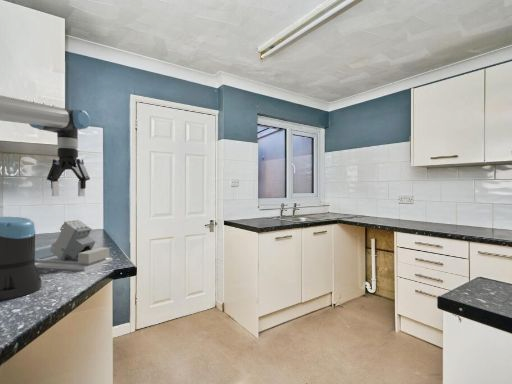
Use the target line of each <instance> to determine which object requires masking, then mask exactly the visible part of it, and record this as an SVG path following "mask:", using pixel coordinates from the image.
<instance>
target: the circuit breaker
mask: <svg viewBox="0 0 512 384" xmlns="http://www.w3.org/2000/svg"><path fill="white" fill-rule="evenodd" d="M59 230H60V233H59V234H58V236H57V239H56V241H53V243H52V246H51V250H49V251H51V253H53V254H54V255H55V256H57V257H58V258H60V259H61V260H62V261H65V260H68V259H72V258H73V259H77V258H78V253H81V252H85V251H88V250H92V249H93V247H94V245H95V243H96V240H94V239H93V238H92V237H90V236H89V235H90V234H91V232H92V228H91V227H90V226H88V225H87V224H85V223H84V222H82V221H81V220H79V219H75V220H67V221H63V224H61V226H60V228H59ZM53 247H54V248H53Z"/></svg>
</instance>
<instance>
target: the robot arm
mask: <svg viewBox="0 0 512 384" xmlns="http://www.w3.org/2000/svg"><path fill="white" fill-rule="evenodd" d="M0 121H2V122H3V121H4V122H11V123H17V124H18V123H19V124H26V125H27V124H28V125H29V126H30V127H31V128H34V129H37V130H39V131H41V130H42V131H46V132H51V133H56V136H57V137H56V138H57V142H56V143H57V145H56V147H57V157H58V159H55V158H54V159H52V164H51V167H50V169H49V172H48V174H47V177H46V180H47V181H50V188H51V196H52V197H59V196H60V182H59V179H60V177H61V176H62V175H63V173H64V172H65V171H68V170H71V171H72V173H74V175H75V176H76V178H77V179H78V181H77V197H85V196H86V195H85V189H86V187H87V186H86V182H87V181H89V180H91V178H90V175H89V173H88V171H87V169H86V167H85V164H84V163H85V162H84V159H83V158H82V159H81V158H79V149H78V148H79V146H78V144H79V143H78V141H79V138H78V136H79V135H78V133H79V131H80V130H84V129H87V128H89V127H90V124H91V118H90V116H89V114H88V113H87V111H85V110H84V109H76V108H75V109H68V108H63V107H59V106H58V107H57V106H55V105H49V104H44V103H39V102H34V101H30V100H29V101H28V100H24V99H20V98H19V99H18V98H16V97H15V98H14V97H10V96H6V95H0ZM35 248H36V227H35V222H34V221H33V220H32V219H31V218H27V217H22V216H21V217H19V216H0V301H2V300H3V301H4V300H10V299H15V298H18V297H19V298H20V297H22V296H26V295H29V294H32V293H35V292H36V291H38V290H40V289H41V288H42V282H43V281H42V278H41V277H40V273H39V271H38V269H37V268H38V267H36V266H35Z"/></svg>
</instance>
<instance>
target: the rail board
mask: <svg viewBox="0 0 512 384" xmlns="http://www.w3.org/2000/svg"><path fill="white" fill-rule="evenodd" d="M51 246H52V245H51V244H48V245H45V246H39V247H35V266H36V268H39V269H56V270H69V271H70V270H72V271H84V272H85V271H88V270H90V269H93V268H96V267H98V266H101V265H104V264H107V263H110V262H112V261H113V257H110V247H96V248H92V249H91V250H88V251H85V252H81V253H78V258H77V259H73V258H72V259H68V260H65V261H62V260H61V259H60V258H58V257H57V256H55V255H54V254H53V253H51V251H49V250H51ZM53 248H54V247H53Z"/></svg>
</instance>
